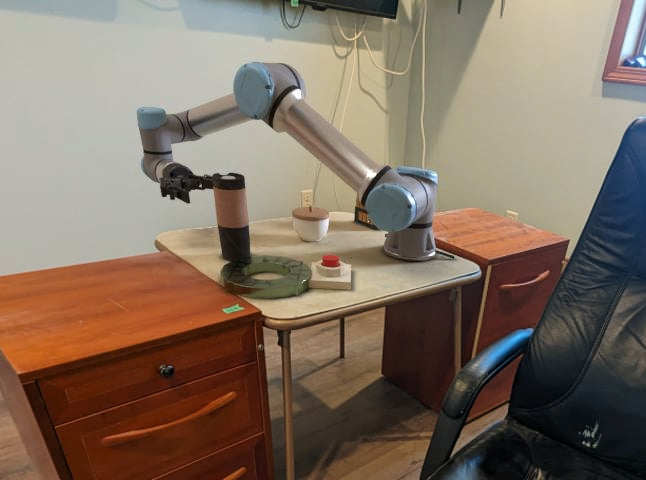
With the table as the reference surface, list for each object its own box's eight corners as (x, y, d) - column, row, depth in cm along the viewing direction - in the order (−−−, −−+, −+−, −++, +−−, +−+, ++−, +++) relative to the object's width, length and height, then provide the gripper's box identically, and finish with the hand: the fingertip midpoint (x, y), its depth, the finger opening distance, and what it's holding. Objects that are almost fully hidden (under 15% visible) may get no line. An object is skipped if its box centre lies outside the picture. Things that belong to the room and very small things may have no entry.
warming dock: (314, 267, 134) (314, 258, 133) (308, 300, 118) (307, 290, 116) (231, 262, 132) (230, 253, 130) (213, 295, 115) (211, 285, 113)
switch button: (339, 263, 129) (339, 255, 128) (338, 269, 126) (338, 260, 124) (322, 262, 128) (322, 254, 127) (322, 268, 125) (322, 259, 124)
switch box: (350, 271, 134) (351, 256, 132) (350, 290, 125) (350, 274, 122) (312, 269, 133) (311, 254, 131) (308, 287, 123) (308, 271, 121)
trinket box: (299, 245, 147) (298, 212, 142) (288, 234, 154) (286, 201, 149) (334, 243, 152) (335, 210, 146) (321, 231, 159) (321, 200, 154)
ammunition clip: (353, 221, 171) (355, 183, 164) (357, 221, 172) (359, 183, 165) (377, 230, 166) (379, 191, 159) (380, 229, 167) (383, 190, 160)
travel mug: (243, 263, 132) (235, 181, 121) (215, 258, 133) (205, 176, 121) (256, 254, 138) (250, 175, 127) (230, 250, 139) (221, 170, 128)
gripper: (219, 187, 154) (257, 204, 142) (132, 195, 138) (168, 216, 127) (216, 159, 150) (255, 175, 138) (126, 165, 134) (162, 183, 123)
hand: (213, 195), depth 133 cm, fingers open, 13 cm apart
